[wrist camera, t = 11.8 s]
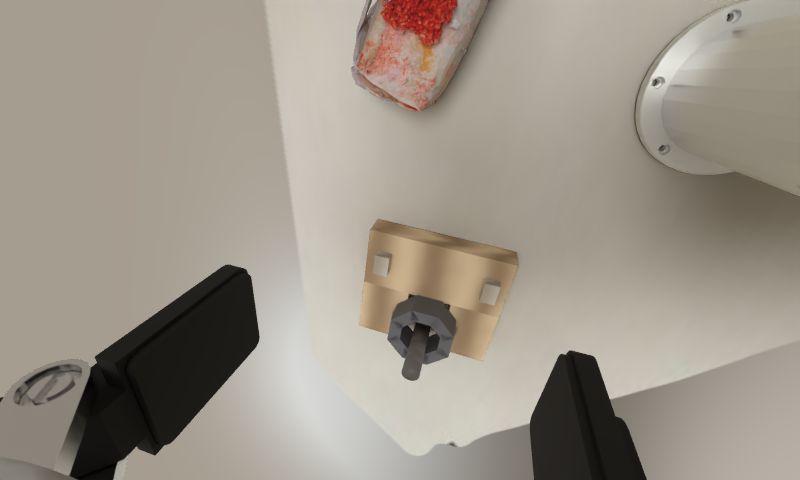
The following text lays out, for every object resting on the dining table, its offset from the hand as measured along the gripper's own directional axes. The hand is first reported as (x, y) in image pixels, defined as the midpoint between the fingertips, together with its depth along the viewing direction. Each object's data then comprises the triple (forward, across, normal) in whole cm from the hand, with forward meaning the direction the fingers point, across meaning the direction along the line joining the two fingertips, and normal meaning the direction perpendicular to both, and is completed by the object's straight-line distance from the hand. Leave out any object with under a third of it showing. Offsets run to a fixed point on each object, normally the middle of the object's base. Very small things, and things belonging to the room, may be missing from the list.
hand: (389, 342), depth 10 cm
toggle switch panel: (+27, +1, +16) cm, 32 cm away
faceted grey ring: (+24, +1, +20) cm, 31 cm away
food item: (+27, +5, -11) cm, 30 cm away
